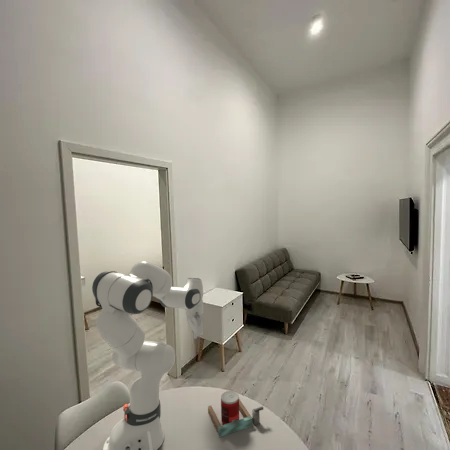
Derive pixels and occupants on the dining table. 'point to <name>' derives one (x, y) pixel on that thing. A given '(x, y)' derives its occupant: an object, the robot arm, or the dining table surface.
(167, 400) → the dining table surface
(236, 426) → the bay
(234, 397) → the canned food
